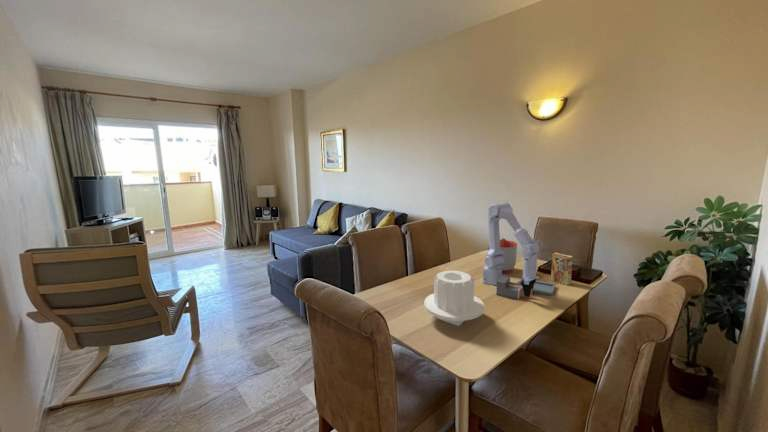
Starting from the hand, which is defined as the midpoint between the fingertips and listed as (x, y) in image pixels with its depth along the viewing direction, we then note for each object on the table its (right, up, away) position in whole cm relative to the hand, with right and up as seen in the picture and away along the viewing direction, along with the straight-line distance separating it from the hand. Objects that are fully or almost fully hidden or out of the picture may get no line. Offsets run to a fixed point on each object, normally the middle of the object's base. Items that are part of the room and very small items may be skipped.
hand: (528, 293), depth 152 cm
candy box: (+25, +2, +17) cm, 30 cm away
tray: (+8, 0, +10) cm, 13 cm away
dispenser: (-7, -1, +5) cm, 9 cm away
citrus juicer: (0, +5, +37) cm, 37 cm away
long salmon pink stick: (-3, -2, +3) cm, 4 cm away
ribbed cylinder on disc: (-40, -7, -17) cm, 44 cm away
